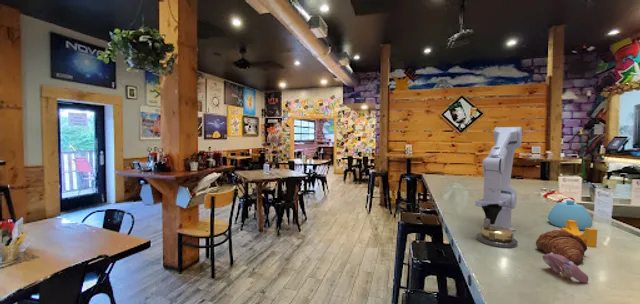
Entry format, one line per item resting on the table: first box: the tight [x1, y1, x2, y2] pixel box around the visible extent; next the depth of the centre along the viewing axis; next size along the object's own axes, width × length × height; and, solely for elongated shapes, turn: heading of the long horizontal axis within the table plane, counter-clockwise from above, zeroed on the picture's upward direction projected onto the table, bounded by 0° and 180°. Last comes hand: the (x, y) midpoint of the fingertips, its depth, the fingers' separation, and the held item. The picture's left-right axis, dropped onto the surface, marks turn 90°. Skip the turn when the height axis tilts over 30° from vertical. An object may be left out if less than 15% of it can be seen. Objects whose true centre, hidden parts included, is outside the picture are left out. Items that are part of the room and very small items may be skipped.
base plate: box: [476, 232, 519, 249], centre depth 108 cm, size 13×13×1 cm
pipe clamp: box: [560, 220, 598, 248], centre depth 109 cm, size 12×4×6 cm, turn 171°
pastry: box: [535, 229, 588, 266], centre depth 98 cm, size 17×15×8 cm
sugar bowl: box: [547, 199, 593, 231], centre depth 128 cm, size 15×15×12 cm
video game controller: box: [542, 252, 589, 284], centre depth 81 cm, size 10×5×7 cm, turn 5°
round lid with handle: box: [480, 217, 515, 242], centre depth 107 cm, size 10×10×7 cm
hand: (490, 223), depth 111 cm, fingers closed
